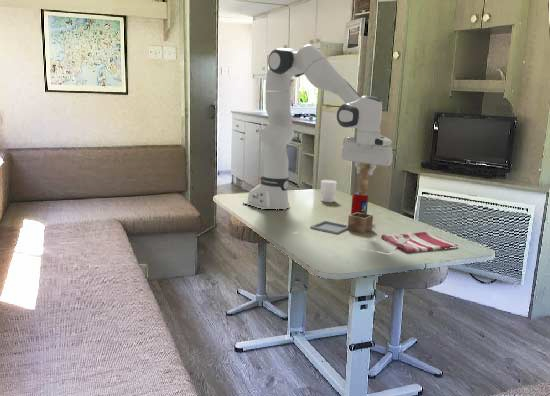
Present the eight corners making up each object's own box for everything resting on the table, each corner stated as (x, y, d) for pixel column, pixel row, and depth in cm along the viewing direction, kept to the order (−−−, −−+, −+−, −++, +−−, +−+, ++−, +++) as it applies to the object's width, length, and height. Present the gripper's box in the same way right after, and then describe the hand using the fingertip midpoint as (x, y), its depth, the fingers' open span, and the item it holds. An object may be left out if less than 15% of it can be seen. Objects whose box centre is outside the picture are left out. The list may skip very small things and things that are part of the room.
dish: (310, 229, 201) (310, 226, 201) (324, 223, 211) (324, 220, 211) (337, 235, 195) (337, 232, 195) (350, 229, 205) (350, 226, 205)
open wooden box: (347, 231, 202) (348, 215, 200) (355, 227, 208) (356, 212, 206) (364, 235, 198) (365, 218, 196) (371, 231, 204) (373, 215, 202)
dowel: (357, 194, 199) (359, 164, 196) (360, 193, 202) (363, 163, 199) (364, 195, 197) (367, 165, 195) (368, 194, 200) (370, 164, 197)
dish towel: (379, 240, 193) (379, 234, 193) (429, 236, 202) (429, 230, 201) (405, 255, 178) (406, 247, 177) (458, 250, 187) (459, 243, 186)
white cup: (321, 198, 259) (323, 179, 257) (336, 200, 257) (338, 180, 255) (318, 201, 252) (319, 181, 250) (333, 203, 250) (335, 183, 248)
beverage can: (365, 222, 216) (368, 195, 214) (350, 221, 217) (352, 193, 215) (366, 218, 223) (368, 192, 220) (350, 217, 224) (353, 190, 221)
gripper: (339, 136, 198) (337, 171, 201) (389, 142, 187) (385, 179, 190) (347, 135, 203) (344, 169, 206) (395, 141, 192) (392, 177, 195)
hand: (364, 174), depth 198 cm, fingers closed on dowel, 3 cm apart
